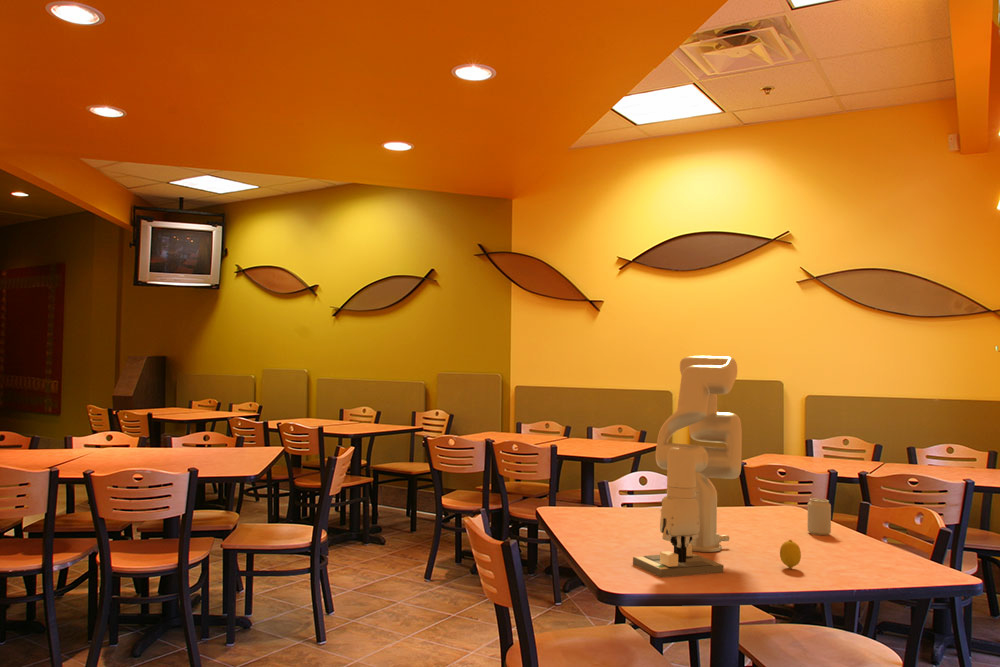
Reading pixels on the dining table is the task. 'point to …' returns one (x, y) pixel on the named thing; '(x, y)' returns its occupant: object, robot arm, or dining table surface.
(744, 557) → the dining table surface
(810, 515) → the can
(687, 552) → the switch tab
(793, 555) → the lemon
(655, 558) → the switch panel
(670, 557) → the switch tab
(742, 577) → the dining table surface
